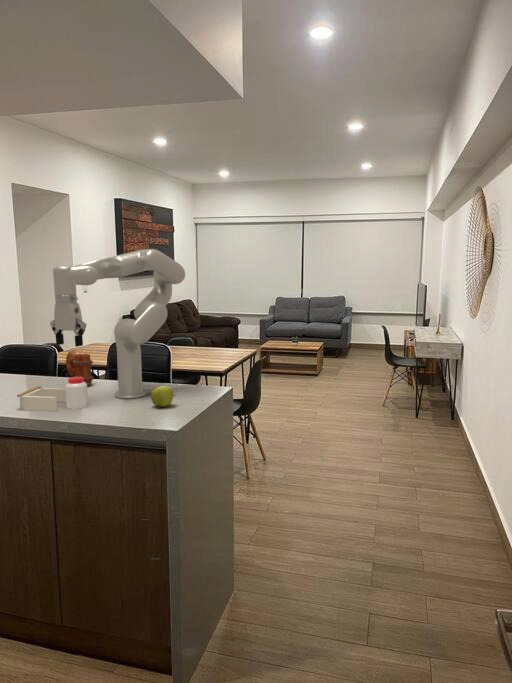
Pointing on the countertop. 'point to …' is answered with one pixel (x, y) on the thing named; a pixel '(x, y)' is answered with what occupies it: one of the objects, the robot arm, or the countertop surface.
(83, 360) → the mug
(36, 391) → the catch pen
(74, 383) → the pill bottle
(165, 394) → the apple
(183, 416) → the countertop surface
